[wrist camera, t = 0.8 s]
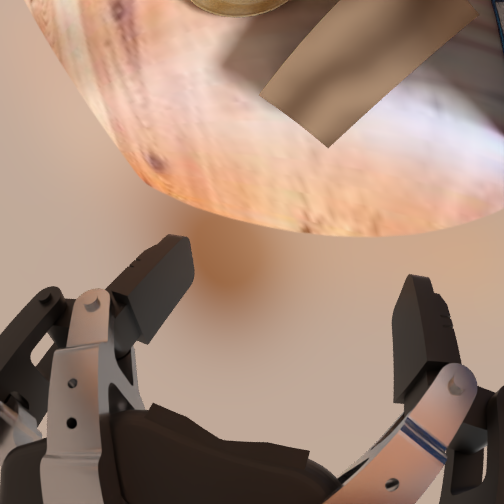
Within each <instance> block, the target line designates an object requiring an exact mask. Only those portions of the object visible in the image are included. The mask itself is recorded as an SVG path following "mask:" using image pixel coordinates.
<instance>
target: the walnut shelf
mask: <svg viewBox="0 0 504 504" xmlns="http://www.w3.org/2000/svg"><path fill="white" fill-rule="evenodd" d="M478 16H479V14H478V12H477V11H476V10H475V9H474V8H473V6H472V5H471V4H470V3H469V2H468V1H467V0H340V1H339V2H338V3H337V4H336V5H335V6H334V7H333V8H332V9H331V10H330V11H329V12H328V13H327V14H326V15H325V16H324V17H323V18H322V19H321V20H320V22H319V23H318V24H317V25H316V26H315V27H314V28H313V29H312V30H311V32H310V33H309V34H308V35H307V36H306V37H305V38H304V39H303V41H302V42H301V43H300V44H299V45H298V46H297V48H296V49H295V50H294V51H293V52H292V54H291V55H290V56H289V57H288V58H287V60H286V61H285V62H284V63H283V65H282V66H281V67H280V68H279V69H278V71H277V72H276V73H275V75H274V76H273V77H272V78H271V80H270V81H269V82H268V83H267V85H266V86H265V87H264V89H263V90H262V91H261V93H260V94H259V96H261V97H262V98H264V99H265V100H267V101H268V102H270V103H271V104H272V105H274V106H275V107H277V108H278V109H279V110H281V111H282V112H283V113H285V114H286V115H287V116H289V117H290V118H291V119H293V120H294V121H295V122H297V123H298V124H299V125H300V126H302V127H303V128H304V129H305V130H307V131H308V132H309V133H310V134H312V135H313V136H314V137H315V138H317V139H318V140H319V141H320V142H321V143H323V144H324V145H325V146H326V147H327V148H329V147H330V146H331V145H332V144H333V143H334V142H335V141H336V140H337V139H339V138H340V137H341V136H342V135H343V134H344V133H345V132H346V131H347V130H348V129H349V128H350V127H351V126H353V125H354V124H355V123H356V122H357V121H358V120H359V119H360V118H361V117H362V116H363V115H365V114H366V113H367V112H368V111H369V110H370V109H371V108H372V107H373V106H374V105H376V104H377V103H378V102H379V101H380V100H381V99H382V98H383V97H384V96H386V95H387V94H388V93H389V92H390V91H391V90H392V89H393V88H394V87H396V86H397V85H398V84H399V83H400V82H401V81H402V80H403V79H405V78H406V77H407V76H408V75H409V74H410V73H411V72H413V71H414V70H415V69H416V68H417V67H418V66H419V65H421V64H422V63H423V62H424V61H425V60H426V59H428V58H429V57H430V56H431V55H432V54H433V53H434V52H436V51H437V50H438V49H439V48H440V47H441V46H443V45H444V44H445V43H446V42H447V41H449V40H450V39H451V38H452V37H453V36H455V35H456V34H457V33H458V32H459V31H461V30H462V29H463V28H464V27H465V26H467V25H468V24H469V23H470V22H471V21H473V20H474V19H475V18H476V17H478Z"/></svg>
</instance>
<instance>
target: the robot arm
mask: <svg viewBox="0 0 504 504" xmlns="http://www.w3.org/2000/svg"><path fill="white" fill-rule="evenodd" d="M193 279H194V265H193V258H192V252H191V246H190V241H189V239H188V238H187V237H184V236H177V235H171V234H168V235H167V236H166V237H165V238H163V239H162V240H161V241H160V242H159V243H158V244H157V245H154V246H152V247H151V248H149V249H147V250H145V251H144V252H143V253H142V254H141V255H139V256H138V257H137V258H136V260H134V261H133V262H132V263H131V264H130V266H129V267H127V268H126V269H125V270H124V271H123V272H122V273H121V274H120V275H119V276H118V277H117V278H116V279H115V280H114V281H113V282H112V283H111V284H110V285H109V286H108V287H107V288H106V289H105V290H104V289H100V288H98V289H91V290H88V291H86V292H85V293H83V294H81V296H79V297H78V298H77V299H65V298H64V296H63V294H62V292H61V290H60V289H59V288H58V287H54V286H52V287H47V288H45V289H43V290H41V291H40V292H39V293H38V294H36V296H35V297H34V298H33V299H32V300H31V301H30V302H29V303H28V304H27V305H26V306H25V307H24V308H23V309H22V310H21V312H20V313H19V314H18V315H17V316H16V317H15V318H14V319H13V321H12V322H11V323H10V324H9V325H8V326H7V328H6V329H5V330H4V331H3V332H2V334H1V335H0V466H1V467H2V468H1V482H0V483H1V484H0V504H415V503H416V502H417V500H418V499H419V498H420V497H421V496H422V494H423V493H424V492H425V491H426V489H427V488H428V487H429V485H430V484H431V483H432V482H433V480H434V479H435V478H436V476H437V475H438V474H439V472H440V471H441V469H442V468H443V466H444V465H445V470H444V478H443V485H442V491H441V497H440V502H439V504H504V386H503V387H501V388H500V390H499V391H497V392H496V393H494V392H492V391H489V390H487V389H484V388H481V387H479V386H477V381H476V378H475V376H474V374H473V373H472V372H471V370H469V369H468V368H467V367H465V366H464V365H462V364H461V359H460V355H459V350H458V345H457V340H456V336H455V332H454V329H453V324H452V320H451V319H450V313H449V310H448V306H447V304H446V303H445V301H444V300H443V299H442V297H441V296H440V294H437V293H434V291H433V287H432V284H431V281H430V279H429V278H428V277H424V276H417V275H412V274H409V275H408V276H407V278H406V280H405V283H404V285H403V288H402V291H401V293H400V296H399V298H398V300H397V303H396V305H395V308H394V311H393V316H392V335H393V357H394V401H393V402H394V403H401V404H404V412H403V413H402V414H401V415H400V416H399V417H398V419H397V420H396V421H395V422H394V423H393V425H392V426H391V427H390V428H389V429H388V430H387V431H386V432H385V433H384V435H382V437H381V438H380V439H379V440H378V441H377V442H376V443H375V444H374V445H373V446H372V447H371V448H370V449H369V450H368V451H367V452H366V453H365V454H364V455H363V456H361V457H360V458H359V459H358V460H357V461H356V462H354V463H353V464H352V465H351V466H350V467H349V468H347V469H346V470H345V471H344V472H343V473H342V474H340V475H339V476H338V477H337V478H336V477H335V476H334V475H333V474H332V473H331V472H329V471H328V470H327V469H326V468H324V467H323V466H321V465H320V464H318V463H316V462H314V461H312V460H310V459H308V456H309V452H310V451H308V450H302V449H296V448H291V447H286V446H282V445H277V444H272V443H268V442H267V443H266V442H240V441H226V440H222V439H219V438H217V437H216V436H214V435H213V434H211V433H210V432H208V431H207V430H205V429H203V428H202V427H200V426H199V425H198V424H196V423H195V422H193V421H192V420H190V419H189V418H187V417H186V416H183V415H180V414H178V413H176V412H173V411H171V410H168V409H166V408H164V407H162V406H159V405H157V404H155V403H153V404H152V405H151V407H150V409H149V410H145V407H144V404H143V402H142V399H141V397H140V394H139V389H138V380H137V370H136V359H135V349H134V347H133V345H134V343H135V342H136V341H140V342H142V343H144V344H147V345H148V344H149V343H150V341H151V340H152V338H153V337H154V335H155V334H156V333H157V331H158V330H159V328H160V327H161V325H162V324H163V323H164V321H165V320H166V319H167V317H168V316H169V314H170V313H171V312H172V310H173V309H174V308H175V306H176V305H177V304H178V302H179V301H180V299H181V298H182V297H183V295H184V294H185V293H186V291H187V290H188V289H189V287H190V286H191V284H192V282H193ZM47 332H48V334H49V335H50V337H51V338H52V340H53V341H54V344H53V345H52V346H51V348H50V349H49V350H48V351H47V353H46V354H45V355H44V357H43V358H42V359H41V361H40V362H39V363H38V365H37V366H36V367H35V366H34V365H33V364H32V362H31V359H30V355H31V352H32V350H33V349H34V347H35V346H36V345H37V344H38V342H39V341H40V340H41V339H42V337H43V336H44V335H45V334H46V333H47ZM47 411H48V415H47V438H44V439H42V433H41V432H40V431H39V430H38V429H37V427H38V425H39V424H40V422H41V421H42V419H43V417H44V416H45V414H46V413H47ZM485 446H487V469H486V476H485V479H484V480H483V482H482V474H483V459H484V447H485ZM445 451H446V453H445Z"/></svg>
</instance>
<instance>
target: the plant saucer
mask: <svg viewBox="0 0 504 504" xmlns="http://www.w3.org/2000/svg"><path fill="white" fill-rule="evenodd" d="M190 1H191V2H192V3H194V4H195V5H196V6H197V7H199V8H201V9H202V10H204V11H207V12H209V13H212V14H215V15H219V16H224V17H236V18H237V17H249V16H255V15H259V14H263V13H266V12H269V11H271V10H274V9H276V8H278V7H280V6H281V5H283V4H285V3H286V2H288V1H289V0H190Z"/></svg>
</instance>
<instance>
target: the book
mask: <svg viewBox="0 0 504 504" xmlns="http://www.w3.org/2000/svg"><path fill="white" fill-rule="evenodd" d="M491 1H492V5H493V8H494V12H495V16H496V20H497V24H498V28H499V33H500V38H501V43H502V48H503V53H504V0H491Z"/></svg>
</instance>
